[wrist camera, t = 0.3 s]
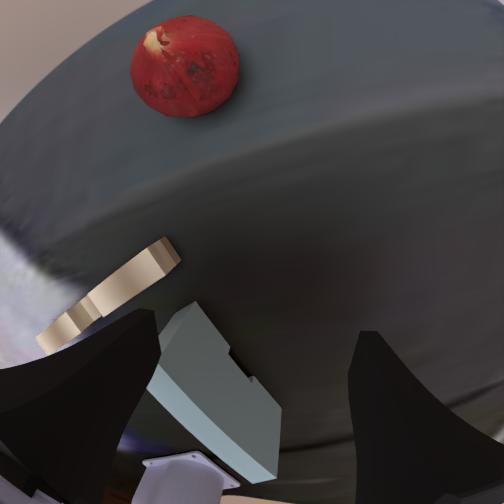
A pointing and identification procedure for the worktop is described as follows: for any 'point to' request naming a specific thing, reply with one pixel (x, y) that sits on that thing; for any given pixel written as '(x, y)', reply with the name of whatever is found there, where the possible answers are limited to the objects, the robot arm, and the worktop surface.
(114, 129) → the worktop surface
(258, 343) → the worktop surface
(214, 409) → the teal plate
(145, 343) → the robot arm
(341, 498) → the worktop surface
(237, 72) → the onion
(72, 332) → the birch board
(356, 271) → the worktop surface
